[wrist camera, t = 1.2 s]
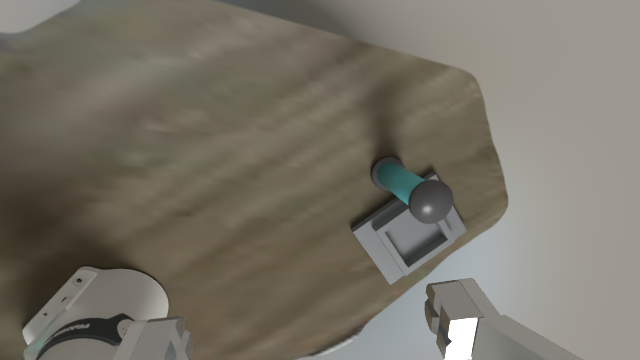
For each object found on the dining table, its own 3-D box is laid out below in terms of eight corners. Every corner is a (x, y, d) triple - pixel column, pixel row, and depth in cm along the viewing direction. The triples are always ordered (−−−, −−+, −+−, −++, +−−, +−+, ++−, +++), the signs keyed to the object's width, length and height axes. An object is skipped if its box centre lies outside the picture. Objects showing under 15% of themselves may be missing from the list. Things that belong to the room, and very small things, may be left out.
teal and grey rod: (381, 195, 61) (424, 232, 46) (364, 169, 59) (403, 199, 44) (408, 176, 61) (460, 206, 46) (392, 149, 59) (441, 172, 44)
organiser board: (387, 280, 66) (394, 290, 63) (350, 228, 61) (356, 237, 58) (462, 227, 66) (473, 235, 63) (431, 172, 61) (441, 177, 58)
